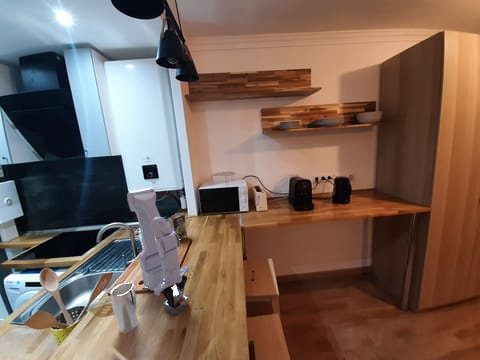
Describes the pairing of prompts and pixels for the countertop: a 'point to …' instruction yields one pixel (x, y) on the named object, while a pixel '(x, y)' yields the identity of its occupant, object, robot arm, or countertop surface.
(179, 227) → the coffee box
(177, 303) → the grooved grey block
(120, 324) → the white tall cup
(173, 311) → the jack base
